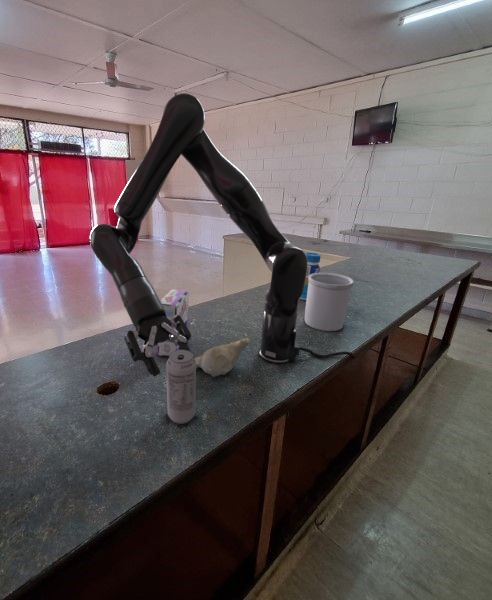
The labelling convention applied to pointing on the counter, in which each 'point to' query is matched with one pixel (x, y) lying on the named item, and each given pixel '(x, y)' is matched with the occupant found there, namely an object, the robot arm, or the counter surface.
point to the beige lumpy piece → (221, 357)
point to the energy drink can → (181, 386)
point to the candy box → (174, 306)
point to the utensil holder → (327, 300)
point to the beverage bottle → (310, 270)
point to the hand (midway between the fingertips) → (174, 367)
